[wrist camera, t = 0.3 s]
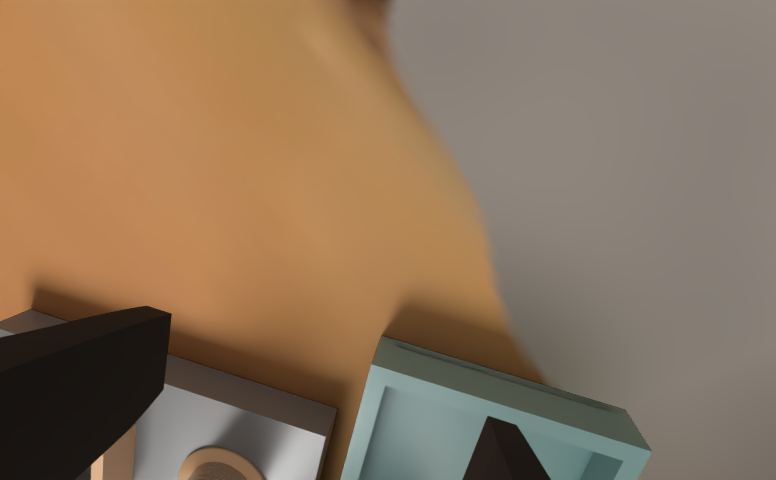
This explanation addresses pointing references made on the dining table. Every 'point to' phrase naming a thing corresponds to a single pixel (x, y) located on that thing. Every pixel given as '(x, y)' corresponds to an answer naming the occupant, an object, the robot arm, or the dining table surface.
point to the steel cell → (216, 472)
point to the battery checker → (210, 425)
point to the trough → (479, 421)
